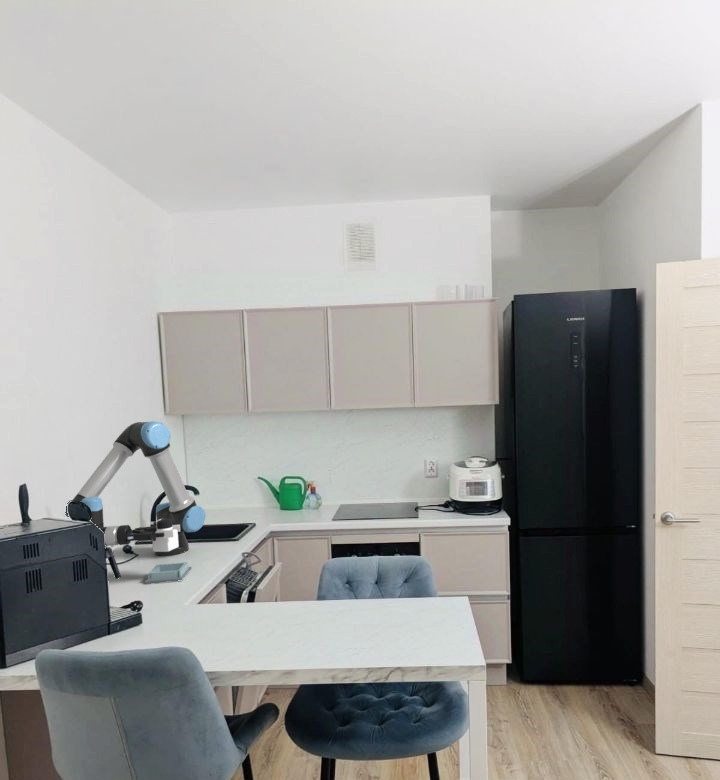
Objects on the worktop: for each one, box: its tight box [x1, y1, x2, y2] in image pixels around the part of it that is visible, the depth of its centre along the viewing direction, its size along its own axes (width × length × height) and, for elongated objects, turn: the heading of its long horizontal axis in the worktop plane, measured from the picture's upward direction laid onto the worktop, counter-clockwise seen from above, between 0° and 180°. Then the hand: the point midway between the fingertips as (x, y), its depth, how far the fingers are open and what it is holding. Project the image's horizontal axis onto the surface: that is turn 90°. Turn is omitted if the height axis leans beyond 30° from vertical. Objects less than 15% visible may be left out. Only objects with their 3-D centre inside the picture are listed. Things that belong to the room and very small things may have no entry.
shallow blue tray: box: [144, 561, 192, 585], centre depth 235 cm, size 16×14×4 cm
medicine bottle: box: [151, 518, 179, 553], centre depth 235 cm, size 7×7×12 cm
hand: (176, 530), depth 235 cm, fingers closed on medicine bottle, 9 cm apart
